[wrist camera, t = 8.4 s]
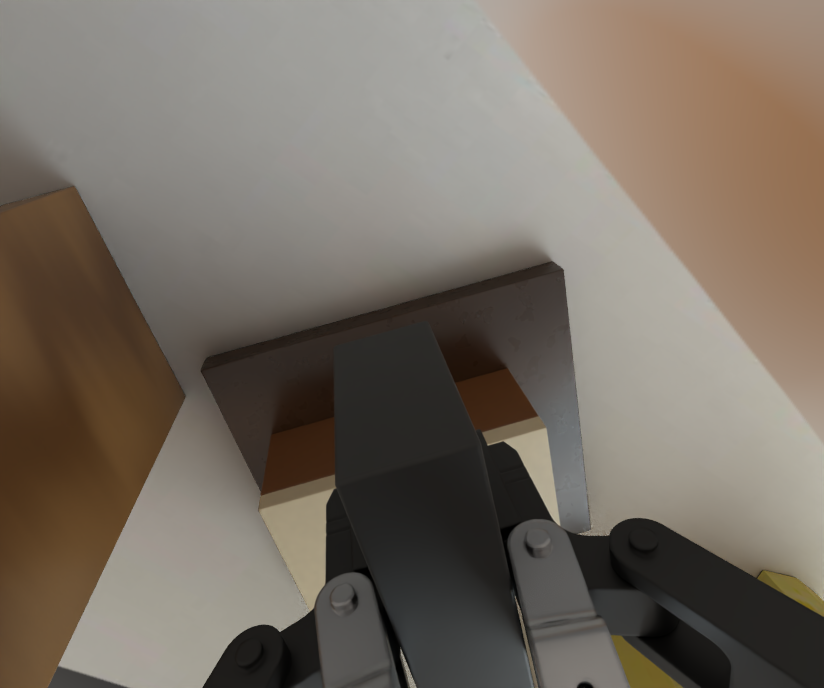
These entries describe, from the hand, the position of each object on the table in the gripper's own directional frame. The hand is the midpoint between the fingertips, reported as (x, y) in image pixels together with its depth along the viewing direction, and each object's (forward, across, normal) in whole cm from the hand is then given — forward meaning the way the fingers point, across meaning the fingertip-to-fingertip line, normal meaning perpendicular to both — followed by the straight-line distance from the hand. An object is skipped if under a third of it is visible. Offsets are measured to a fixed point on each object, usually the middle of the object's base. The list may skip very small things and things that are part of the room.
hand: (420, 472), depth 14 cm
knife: (0, 0, +6) cm, 6 cm away
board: (+15, 0, +11) cm, 19 cm away
